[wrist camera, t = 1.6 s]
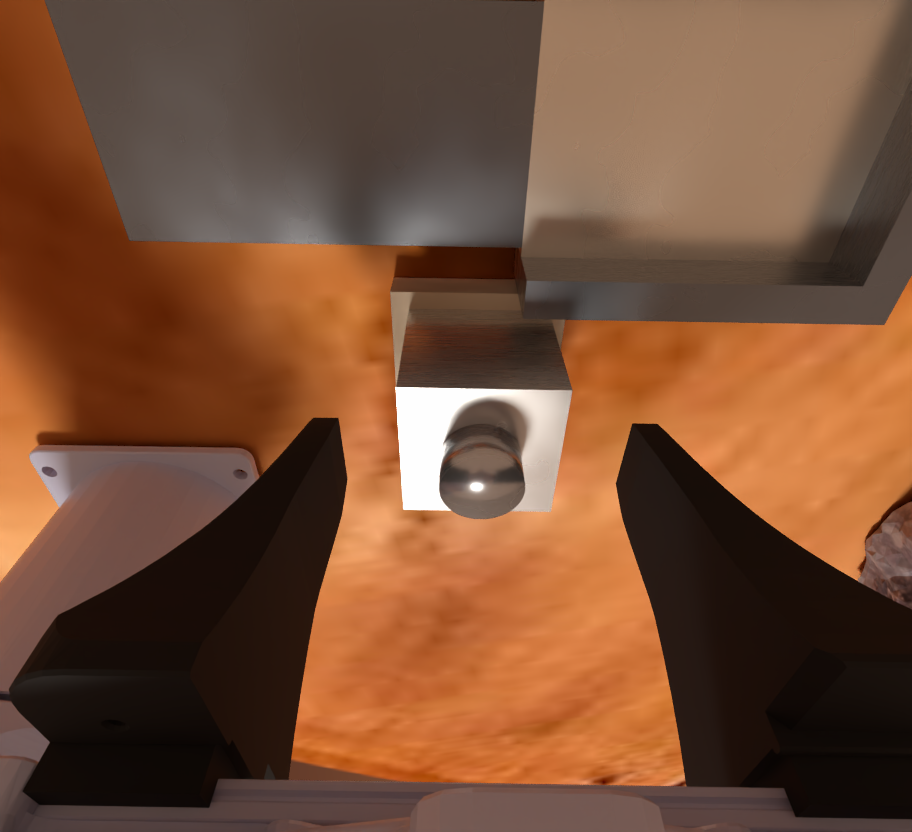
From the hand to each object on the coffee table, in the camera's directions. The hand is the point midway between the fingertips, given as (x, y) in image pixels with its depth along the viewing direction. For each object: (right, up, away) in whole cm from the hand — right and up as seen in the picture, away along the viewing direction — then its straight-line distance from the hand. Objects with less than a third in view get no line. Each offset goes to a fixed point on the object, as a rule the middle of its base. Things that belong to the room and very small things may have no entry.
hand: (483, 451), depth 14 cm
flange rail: (0, +8, 0) cm, 8 cm away
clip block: (0, +2, +3) cm, 4 cm away
